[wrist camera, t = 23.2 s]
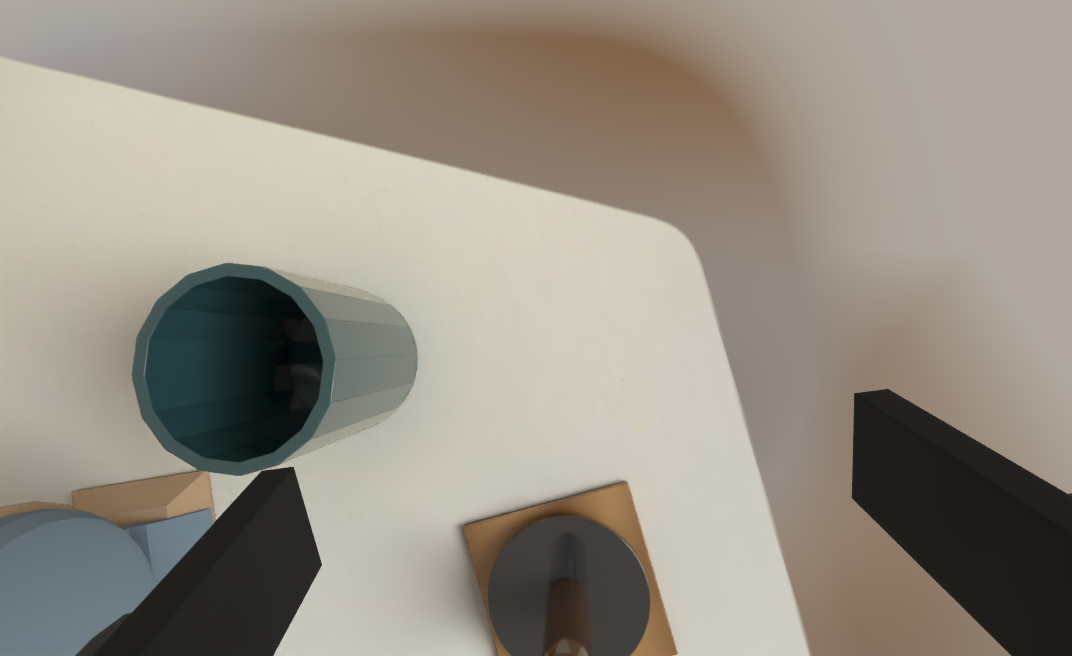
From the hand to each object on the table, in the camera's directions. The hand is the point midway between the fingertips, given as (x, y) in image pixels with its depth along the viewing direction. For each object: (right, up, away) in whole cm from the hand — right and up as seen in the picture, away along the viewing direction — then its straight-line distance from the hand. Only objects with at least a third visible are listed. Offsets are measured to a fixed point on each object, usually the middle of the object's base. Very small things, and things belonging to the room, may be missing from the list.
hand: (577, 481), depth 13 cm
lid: (+1, -13, +21) cm, 25 cm away
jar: (-13, +1, +23) cm, 27 cm away
